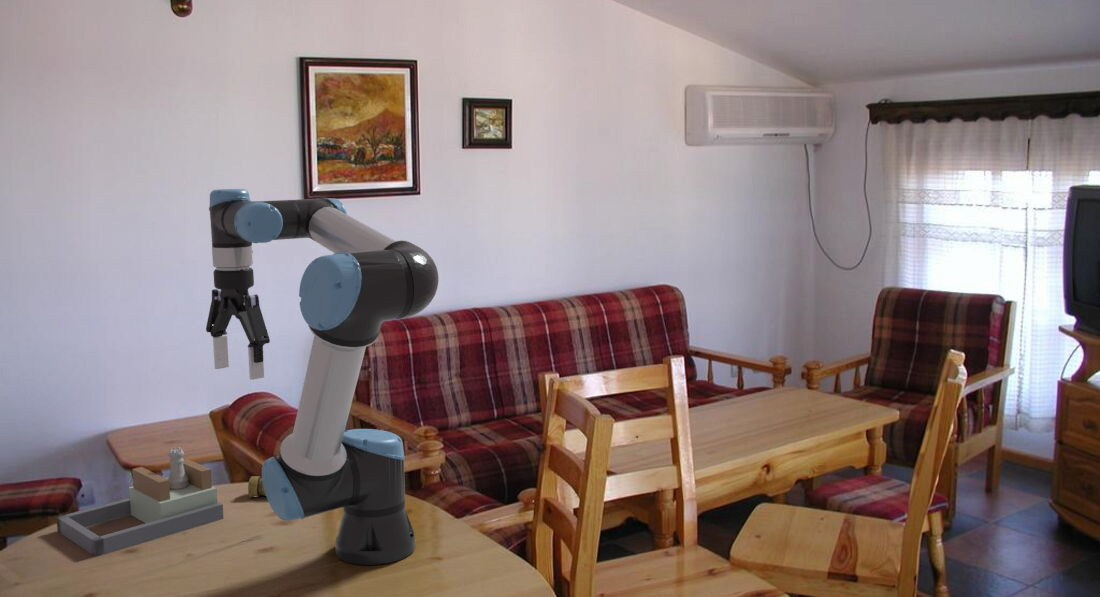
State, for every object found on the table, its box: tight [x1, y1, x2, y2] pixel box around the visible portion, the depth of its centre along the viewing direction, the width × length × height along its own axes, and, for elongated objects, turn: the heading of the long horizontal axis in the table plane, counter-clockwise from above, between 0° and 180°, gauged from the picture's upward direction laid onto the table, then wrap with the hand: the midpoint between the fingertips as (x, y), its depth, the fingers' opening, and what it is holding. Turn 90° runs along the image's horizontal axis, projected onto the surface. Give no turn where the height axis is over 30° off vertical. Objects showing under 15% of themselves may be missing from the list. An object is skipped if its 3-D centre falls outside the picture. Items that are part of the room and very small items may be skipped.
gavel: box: [247, 475, 266, 498], centre depth 231 cm, size 21×5×10 cm
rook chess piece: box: [167, 446, 189, 490], centre depth 208 cm, size 4×4×8 cm
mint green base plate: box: [128, 456, 219, 524], centre depth 207 cm, size 14×12×10 cm
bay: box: [56, 497, 225, 558], centre depth 203 cm, size 18×26×4 cm
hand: (239, 373), depth 201 cm, fingers open, 13 cm apart
